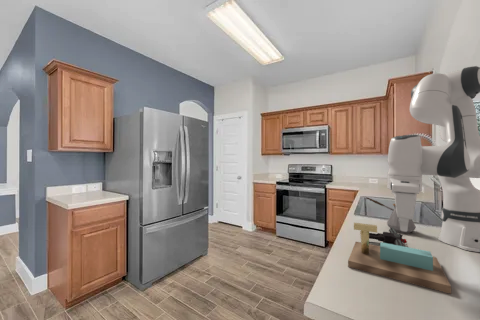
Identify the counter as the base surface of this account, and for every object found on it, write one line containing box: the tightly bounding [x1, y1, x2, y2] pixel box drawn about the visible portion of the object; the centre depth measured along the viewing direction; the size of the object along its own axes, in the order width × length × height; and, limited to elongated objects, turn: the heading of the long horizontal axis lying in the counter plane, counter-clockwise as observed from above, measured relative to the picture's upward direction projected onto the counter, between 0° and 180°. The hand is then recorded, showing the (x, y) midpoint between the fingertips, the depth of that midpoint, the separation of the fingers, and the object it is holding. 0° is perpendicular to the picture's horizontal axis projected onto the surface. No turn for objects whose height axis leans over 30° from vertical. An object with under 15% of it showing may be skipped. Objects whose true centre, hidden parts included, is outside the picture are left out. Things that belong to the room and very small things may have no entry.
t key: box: [353, 222, 378, 254], centre depth 77 cm, size 8×7×10 cm
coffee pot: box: [364, 196, 416, 234], centre depth 108 cm, size 21×12×15 cm, turn 49°
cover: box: [379, 241, 434, 271], centre depth 68 cm, size 13×5×4 cm, turn 55°
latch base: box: [347, 241, 452, 294], centre depth 69 cm, size 24×20×2 cm
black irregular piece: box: [369, 227, 408, 247], centre depth 87 cm, size 5×20×15 cm
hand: (402, 227), depth 68 cm, fingers open, 8 cm apart
